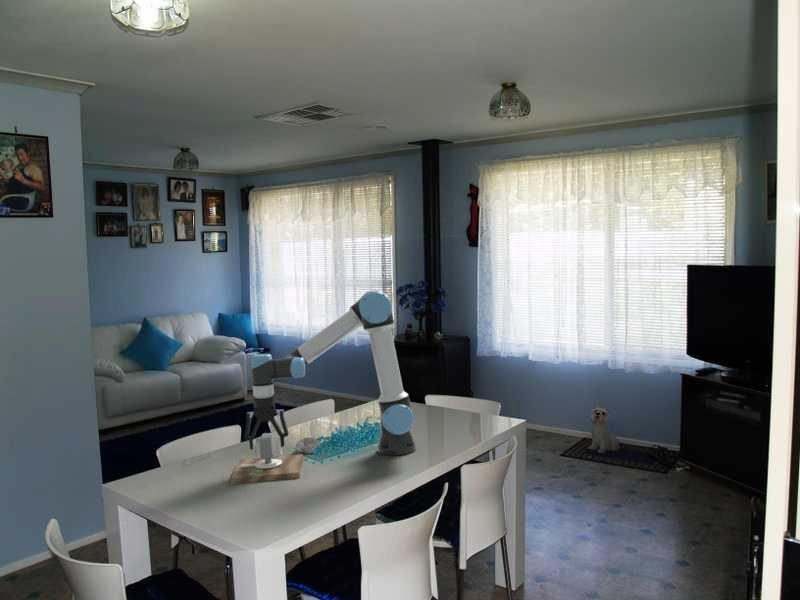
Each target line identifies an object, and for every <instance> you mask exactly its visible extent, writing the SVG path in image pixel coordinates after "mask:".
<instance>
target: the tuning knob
mask: <svg viewBox="0 0 800 600" xmlns="http://www.w3.org/2000/svg"><path fill="white" fill-rule="evenodd" d="M274 435H275V434H274V432H264V433H262V435H261V437H260V438H259V451H260V453H259V455H260V458H261V459H265V460H262V461H259V462H257V463H255V464H247V465H241V467H248V466H255V467H256V468H259V469H268V468H274V467H278V466H280V465H281V464H282V460H279V459H272V457H274V454H275V451H276V450H275V449H276V448H275V447H276V446H275V436H274Z"/></svg>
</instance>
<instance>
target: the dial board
mask: <svg viewBox="0 0 800 600" xmlns="http://www.w3.org/2000/svg"><path fill="white" fill-rule="evenodd" d="M272 459H279V460H282V464H281V465H280V466H278V467H274V468H268V469H259V468H256V467H255V466H248V467H241V465H247V464H255V463H257V462H259V461H262V460H265V459H261V457H256V459H254V458H244V459H243V458H242V459H240V460H239V462H238V464H237V466H236V467H235V469H234V471H233V473H232V475H231V476H230V479H229V480H230V481H229V482H230V484H231V485H234V484H235V485H236V484H246V483H257V482H269V481H277V480H278V481H279V480H281V481H282V480H288V479H289V480H290V479H291V480H292V479H300V477H301V473H302V468H303V463H304V454H302V453H301V454H298V455H296V454H291V455H282V456H281V457H279V455H278V456H273V457H272Z"/></svg>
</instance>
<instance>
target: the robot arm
mask: <svg viewBox="0 0 800 600" xmlns="http://www.w3.org/2000/svg"><path fill="white" fill-rule="evenodd" d="M392 310H393V304H392V301H391V299H390V297H389V296H388V295H387V294H386V293H385V292H383V291H381V290H370V291H367V292H366V293H364V294H363V295H362V296H361V297H360V298H359V299H358V300H357V301H356V302H355V303H354V304H352V305H351V306H349V309H348V310H347V312H346V313H344V314H343V315H342V316H340V317H339V318H338V319H335V320H334V321H333V322H332V323H330V324H329V325H327V326H326V327H325V328H324V329H322V330H321V331H319V332H318V333H317V334H315V335H314V336H312V337H311V338H310V339H308V340H307V341H305V342H304V343H303V344H301V345H300V346H298V347H297V348H296V349H294V350H293V351H292V352H290V353H288V354H287V355H286V356H284V358H273V357H272V354H270V353H260V354H255V355H253V356H252V357H251V361H250V362H251V379H252V395H253V397H254V398H253V408H254V409H253V411H247V412H246V414H245V416H246V417H245V418H246V424H245V431H244V436H243V437H244V440H245V441H246V440H247V441H249V449H250V450H253V451H252V452H253V459H256V458H258V456H257V455H258V454H257V453H258V452H257V442H256V441H257V440H256V439H254V437H255V436H256V433H257V430H258V428H259V426H260V423H264V422H270V424H272V426H273V428H274V429H275V431H276V433H277V434H278V442H277V443H278V456H279V457H281V456H283V448H284V447H285V438H286V437H289V434H290V433H289V430H288V427H287V426H288V425H287V423H286V420H285V410H284V409H283V408H282V409H277V408H276V404H275V403H276V402H275V396H274V394H275V388H274V387H275V386H274V380H280V379H281V380H283V379H286V380H287V379H300V378H304V377H305V375H306V367H307V366H308V365H309V364H310V363H312V362H313V361H314V360H317V358H319V357H320V356H321V355H323V354H324V353H325V352H327V351H329V350H330V349H331V348H333V347H334V346H335V345H337V344H338V343H340V342H341V341H342V340H344V339H345V338H346V337H348V336H349V335H351V334H352V333H354V332H355V331H356V330H358V329H359V328H360V327H361V328H363V330H364V331H365V332H366V333H368V337H369V341H370V345H371V351H372V355H373V361H374V366H375V370H376V375H377V381H378V385H379V390H380V395H379V397H378V400H377V401H378V405H379V419H380V436H379V440H378V442H377V452H378V454H380V455H384V456H402V455H407V454H411V453H413V452H415V451H416V449H417V448H416V445H417V444H416V442H415V439H414V437H413V433H412V431H411V429H412V427H413V425H414V422H415V414H414V411H413V410H412V405H411V401H410V396H409V393H408V392H406V391H405V390H404V386H403V382H402V381H403V380H402V376H401V372H400V367H399V361H398V357H397V350H396V346H395V341H394V336H393V331H392V327H393V326H394V325H395V320H394V316H393V315H394V314H393V311H392ZM276 414H277V416H279V420H280V422H281V426H282V429H283V430H281V428H280V426H279V423H277V420H276V418H275V416H276ZM253 416H254V417H255V418H256V422H255V424H254V427H253V430H252V432H251V434H250V430H251V429H250V428H251V424H252V423H251V422H252V418H253Z"/></svg>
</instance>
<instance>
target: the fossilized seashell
mask: <svg viewBox="0 0 800 600" xmlns="http://www.w3.org/2000/svg"><path fill="white" fill-rule="evenodd" d="M320 443H321V442H320V441H319V440H318V439H316V438H314V437H306V438H303V439H302V438H301V439H300V440H299V441H297V443H296V445H295V449H294V451H295V452H294V455H300V454H303V455H306V456H308V455H310V454H309V453H311V452H312V451H313V450H314V449H315V448H316V447H318V446H320ZM320 447H321V446H320ZM307 454H308V455H307Z"/></svg>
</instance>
